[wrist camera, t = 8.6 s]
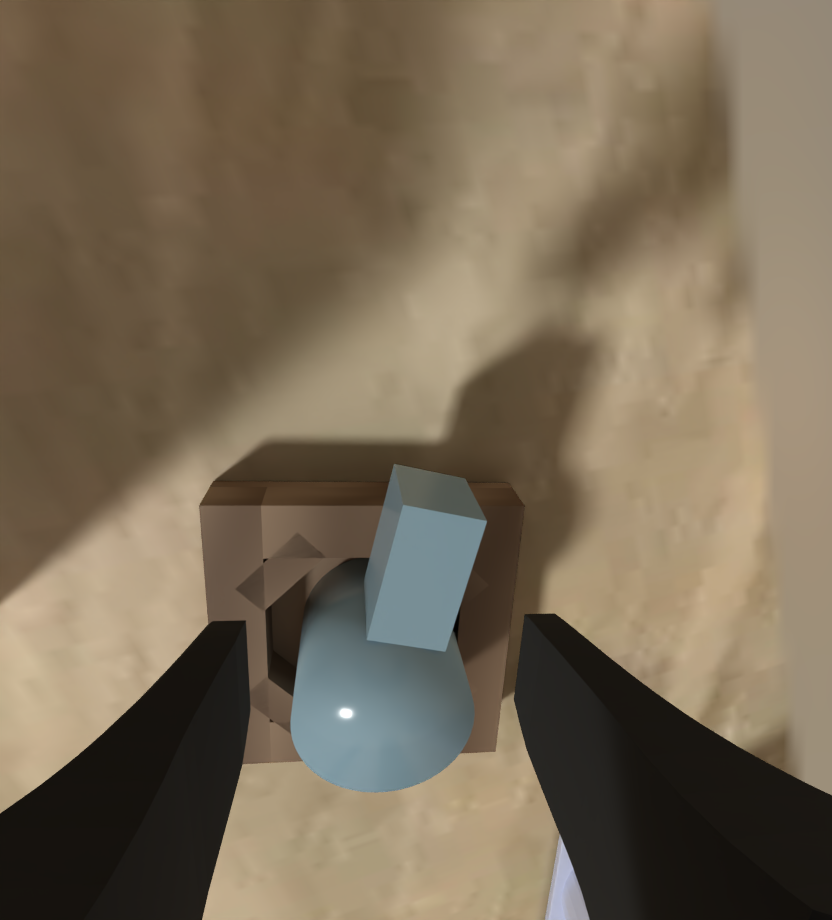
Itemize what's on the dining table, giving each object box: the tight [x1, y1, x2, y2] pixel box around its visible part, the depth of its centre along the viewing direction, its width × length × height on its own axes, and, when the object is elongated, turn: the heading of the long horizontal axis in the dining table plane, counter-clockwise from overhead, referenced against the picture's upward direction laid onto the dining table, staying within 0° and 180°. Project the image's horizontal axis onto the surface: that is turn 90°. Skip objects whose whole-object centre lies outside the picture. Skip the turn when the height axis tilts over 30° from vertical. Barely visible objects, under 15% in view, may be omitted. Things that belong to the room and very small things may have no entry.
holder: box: [199, 481, 525, 764], centre depth 21 cm, size 10×10×2 cm
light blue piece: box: [290, 464, 487, 792], centre depth 19 cm, size 9×5×5 cm, turn 165°
